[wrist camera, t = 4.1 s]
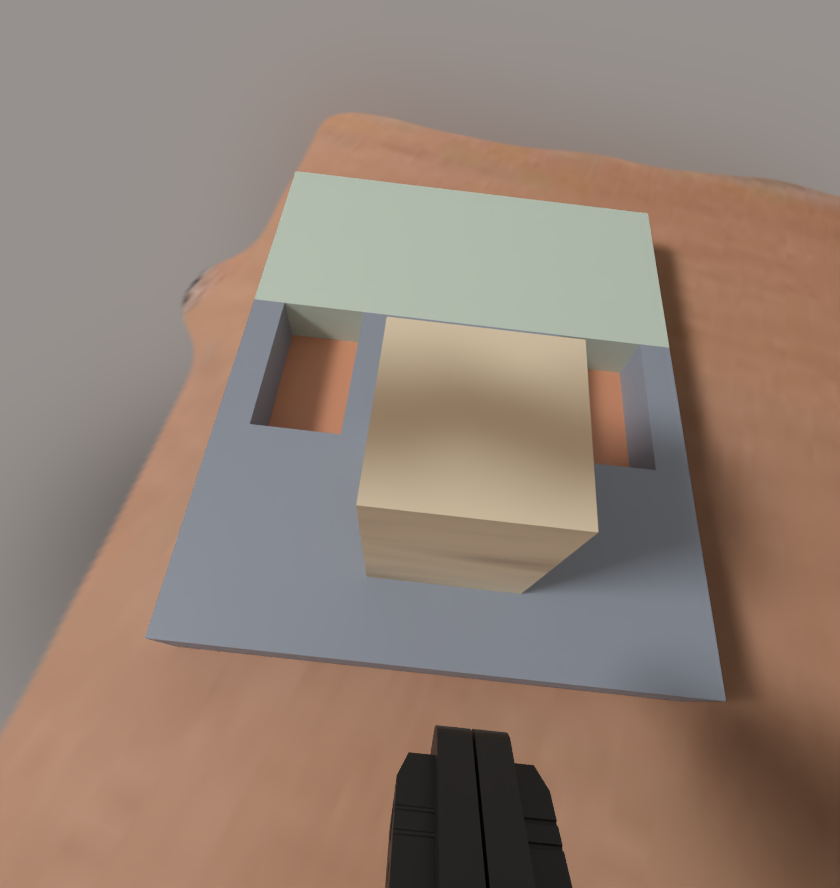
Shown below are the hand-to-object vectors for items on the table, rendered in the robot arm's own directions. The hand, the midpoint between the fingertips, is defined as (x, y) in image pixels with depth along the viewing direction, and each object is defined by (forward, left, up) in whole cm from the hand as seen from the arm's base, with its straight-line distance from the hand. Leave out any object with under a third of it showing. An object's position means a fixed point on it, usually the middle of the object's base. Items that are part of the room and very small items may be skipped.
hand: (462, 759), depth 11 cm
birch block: (-7, -3, -8) cm, 11 cm away
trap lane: (-14, -6, -11) cm, 18 cm away
